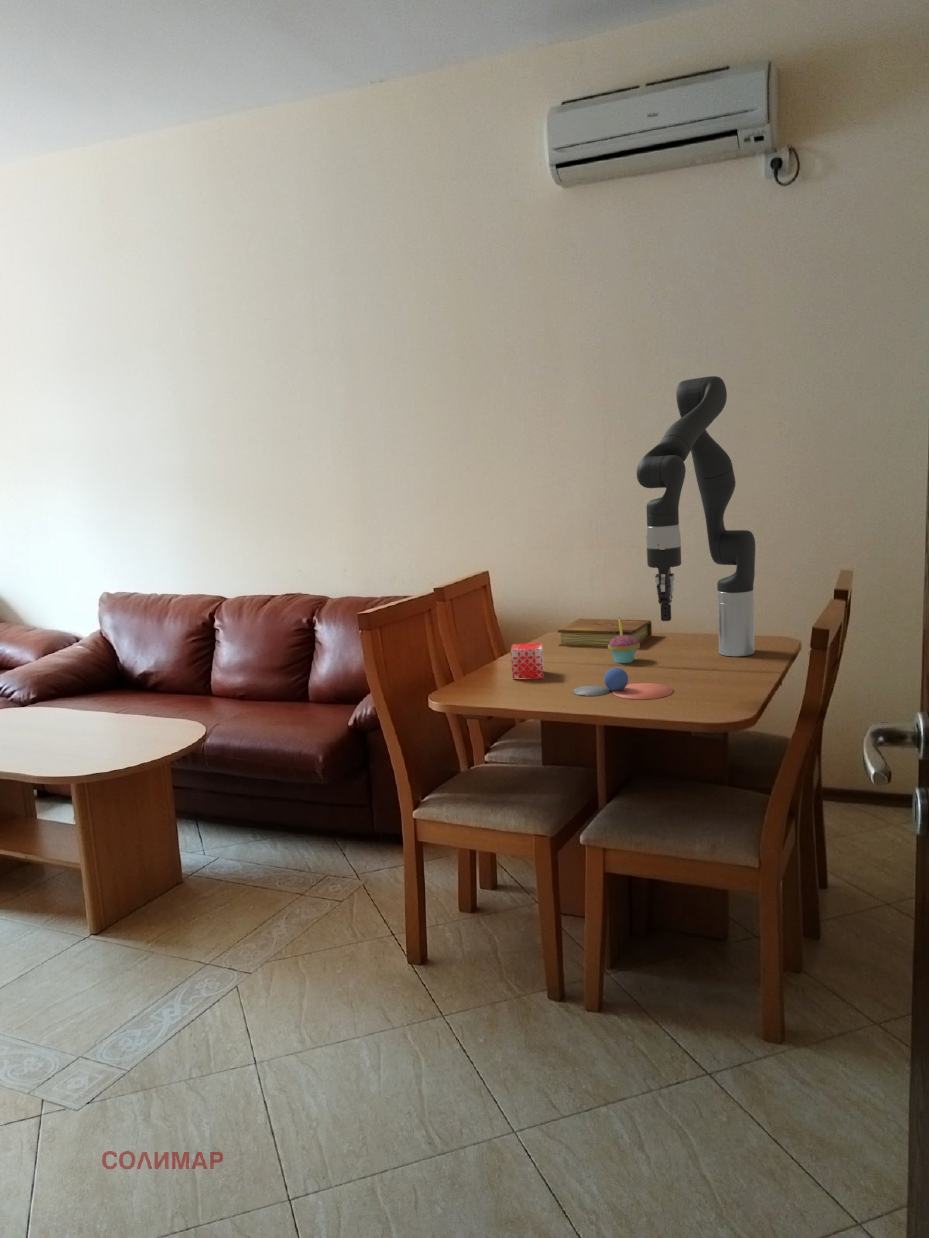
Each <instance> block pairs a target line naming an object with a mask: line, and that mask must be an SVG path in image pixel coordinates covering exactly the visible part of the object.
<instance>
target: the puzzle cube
mask: <svg viewBox="0 0 929 1238" xmlns="http://www.w3.org/2000/svg"><path fill="white" fill-rule="evenodd" d="M510 655H511V656H510V659H511V672H512V679H513V678H543V679H544V674H543V671H544V672H545V670H544V669H545V666H544V651H543V642H531V643H514V644H513V643H512V644H511V649H510Z"/></svg>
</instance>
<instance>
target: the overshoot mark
mask: <svg viewBox="0 0 929 1238" xmlns="http://www.w3.org/2000/svg"><path fill="white" fill-rule="evenodd" d="M573 691H575V692H573ZM577 691H578V692H577ZM610 692H612V690H610V689H609V688H608V687H607V686H606V685H605V686H604V685H583V686H579V687H576V688H574V689H573V690H572V693H573V694H574V693H575V694H574V695H577V696H580V695H585V696H584V697H597V696H604V695H607V694H610Z"/></svg>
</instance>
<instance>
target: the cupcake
mask: <svg viewBox="0 0 929 1238" xmlns="http://www.w3.org/2000/svg"><path fill="white" fill-rule="evenodd" d="M618 619H619V629H620V636H616V637H614V638H612V639H611V640H610V642H609V644H608V648H607V649H608V650H609V651H610V652H611V655H612V656H613V659H614V662H615V663H617V664H630V663H632V662H634V658H635V654H636V651H637V650H638V649H640V646H641V643H639V641H638V640H637V639H635V638H634V637H631V636H624V635H623V633H622V625H621V620H622V619H621V618H620V616H618Z"/></svg>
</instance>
